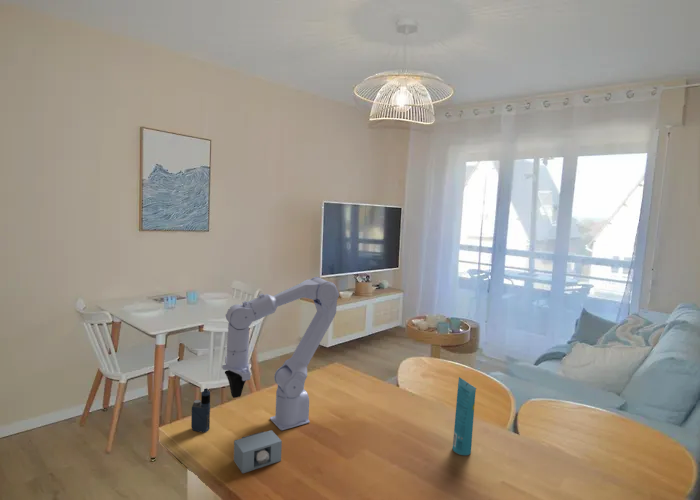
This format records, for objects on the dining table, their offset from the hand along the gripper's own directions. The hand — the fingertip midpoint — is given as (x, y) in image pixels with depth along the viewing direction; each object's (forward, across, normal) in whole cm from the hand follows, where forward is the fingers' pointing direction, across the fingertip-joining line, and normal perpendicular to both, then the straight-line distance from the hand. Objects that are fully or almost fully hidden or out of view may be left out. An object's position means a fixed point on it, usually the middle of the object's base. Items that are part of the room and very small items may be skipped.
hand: (236, 396), depth 114 cm
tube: (+10, +39, +49) cm, 64 cm away
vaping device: (+11, -6, -8) cm, 15 cm away
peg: (+10, +16, 0) cm, 18 cm away
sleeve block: (+10, +16, 0) cm, 19 cm away
